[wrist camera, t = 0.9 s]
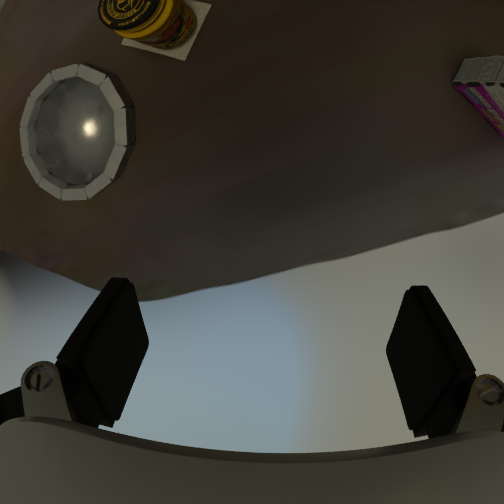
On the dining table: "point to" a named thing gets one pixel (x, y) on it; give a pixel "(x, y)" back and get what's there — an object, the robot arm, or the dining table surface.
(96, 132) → the faceted plate
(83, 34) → the dining table surface
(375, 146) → the dining table surface
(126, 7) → the condiment
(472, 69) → the candy bar box
